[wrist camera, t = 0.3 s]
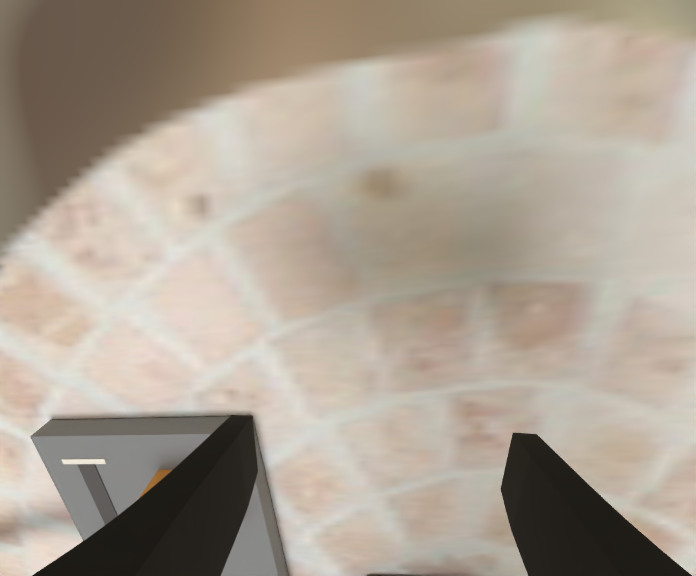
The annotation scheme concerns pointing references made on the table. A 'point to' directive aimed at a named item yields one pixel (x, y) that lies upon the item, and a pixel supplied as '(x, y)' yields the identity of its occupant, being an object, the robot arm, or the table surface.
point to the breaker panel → (147, 478)
